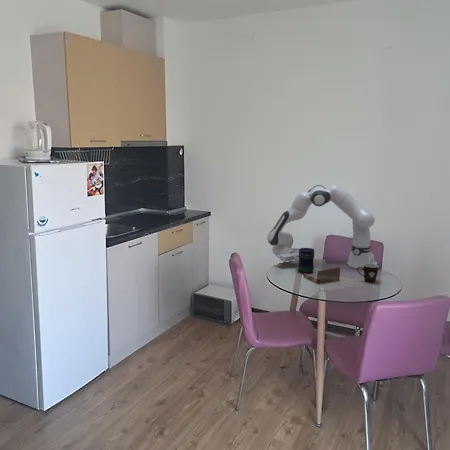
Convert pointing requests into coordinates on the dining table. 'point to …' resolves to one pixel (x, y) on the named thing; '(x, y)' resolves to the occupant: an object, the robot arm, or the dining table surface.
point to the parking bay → (325, 275)
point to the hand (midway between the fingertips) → (300, 259)
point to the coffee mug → (369, 272)
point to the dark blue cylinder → (306, 260)
